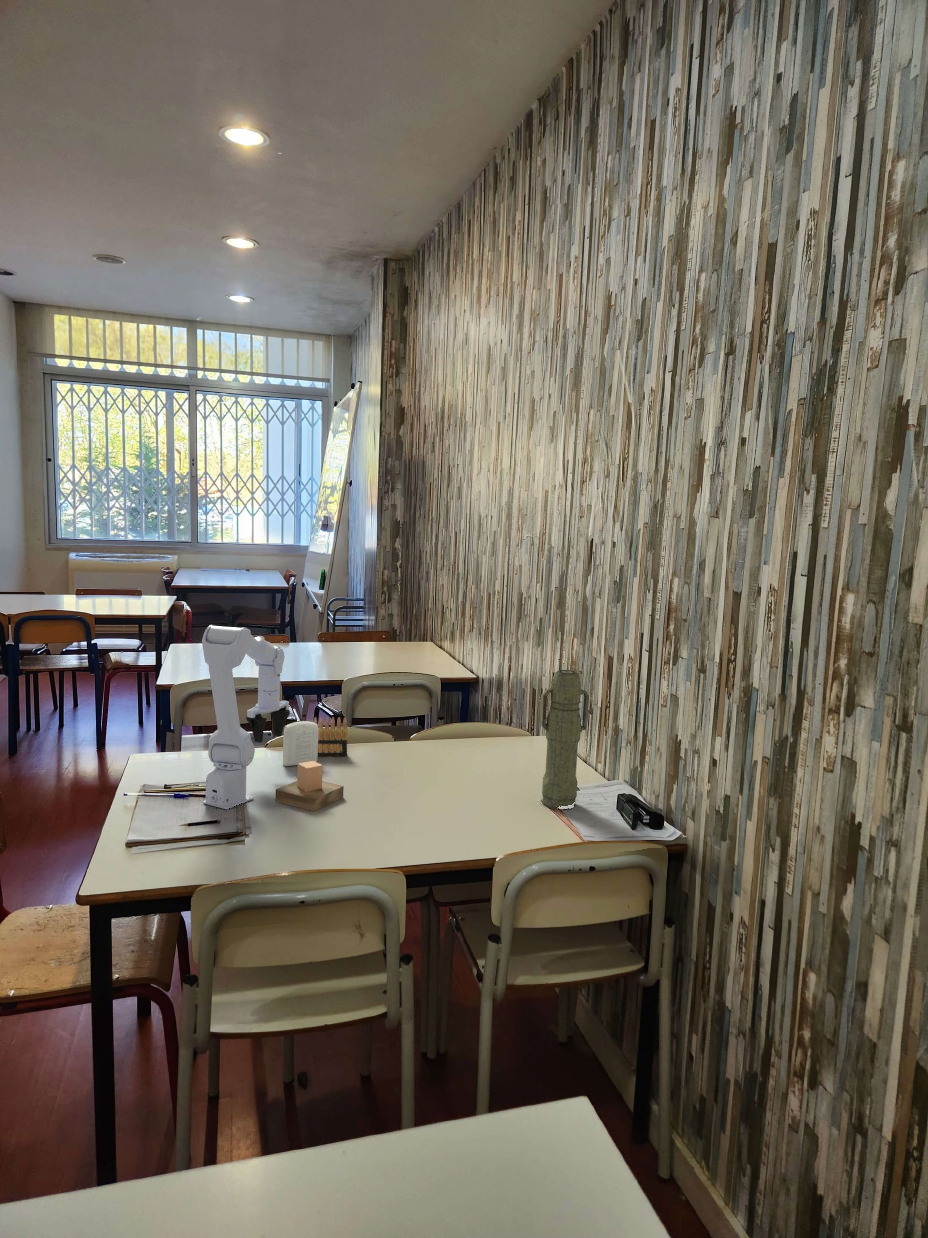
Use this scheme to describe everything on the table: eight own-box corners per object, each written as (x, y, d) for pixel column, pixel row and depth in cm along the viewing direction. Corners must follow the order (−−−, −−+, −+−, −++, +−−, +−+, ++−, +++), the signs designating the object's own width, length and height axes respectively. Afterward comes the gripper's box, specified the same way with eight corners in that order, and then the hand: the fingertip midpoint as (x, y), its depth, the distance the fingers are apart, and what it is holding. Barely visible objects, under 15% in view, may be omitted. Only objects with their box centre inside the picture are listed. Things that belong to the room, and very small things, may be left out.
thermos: (531, 799, 208) (539, 668, 204) (573, 797, 210) (582, 668, 206) (542, 811, 199) (550, 674, 195) (585, 809, 202) (595, 675, 198)
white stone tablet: (313, 759, 233) (315, 718, 232) (319, 763, 230) (320, 721, 228) (280, 763, 227) (281, 721, 226) (285, 767, 224) (286, 725, 222)
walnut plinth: (313, 811, 191) (313, 799, 191) (275, 801, 197) (275, 789, 197) (343, 797, 202) (343, 786, 202) (306, 788, 207) (306, 777, 207)
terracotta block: (306, 791, 196) (306, 768, 195) (297, 786, 199) (297, 763, 199) (321, 788, 199) (322, 765, 198) (312, 783, 202) (313, 760, 202)
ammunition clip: (311, 757, 235) (312, 717, 234) (311, 755, 237) (312, 716, 236) (347, 756, 237) (348, 717, 236) (346, 754, 239) (348, 716, 238)
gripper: (275, 683, 222) (274, 730, 223) (238, 691, 209) (237, 742, 210) (295, 687, 218) (294, 734, 220) (259, 695, 206) (258, 746, 207)
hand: (268, 738), depth 215 cm, fingers open, 7 cm apart
